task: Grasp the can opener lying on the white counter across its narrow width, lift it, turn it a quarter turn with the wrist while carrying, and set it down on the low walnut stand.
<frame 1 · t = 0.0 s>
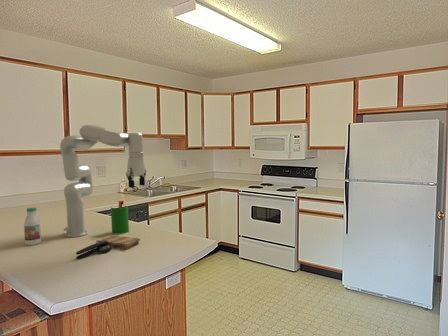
hand: (137, 186, 180), 31 cm above the worktop, tool pointing down, fingers open, 9 cm apart
stand: (118, 244, 177), on the worktop
can opener: (93, 255, 163), on the worktop
milk bottle: (33, 243, 181), on the worktop
motor: (121, 232, 204), on the worktop
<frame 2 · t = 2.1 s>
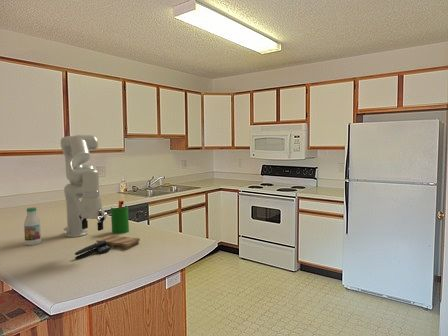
hand: (92, 229, 161), 13 cm above the worktop, tool pointing down, fingers open, 9 cm apart
nothing on the worktop moved.
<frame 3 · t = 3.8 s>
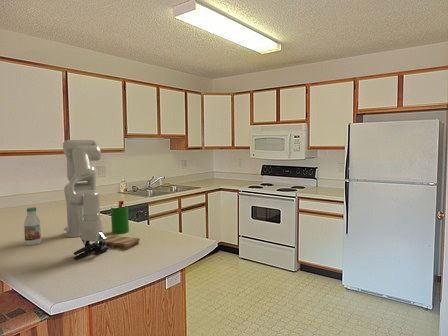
hand: (93, 252, 162), 1 cm above the worktop, tool pointing down, fingers closed on can opener, 6 cm apart
can opener: (90, 255, 162), on the worktop, touching gripper
everything else where it was.
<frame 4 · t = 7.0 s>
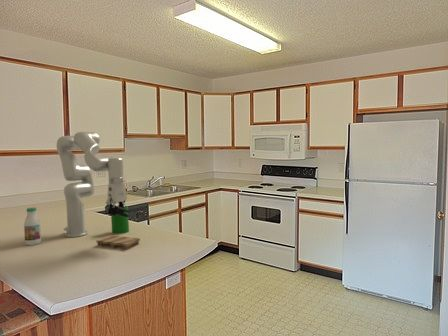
hand: (117, 213, 176), 17 cm above the worktop, tool pointing down, fingers closed on can opener, 6 cm apart
can opener: (117, 215, 175), point 16 cm above the worktop, touching gripper
everything else where it was.
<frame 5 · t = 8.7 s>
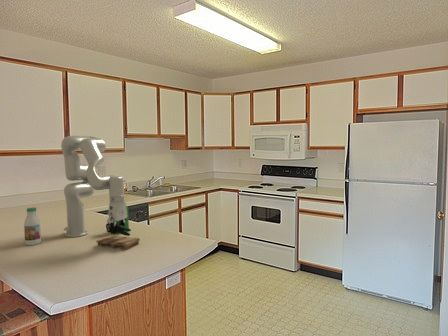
hand: (118, 231, 177), 7 cm above the worktop, tool pointing down, fingers closed on can opener, 6 cm apart
can opener: (118, 234, 176), point 6 cm above the worktop, touching gripper
everything else where it was.
when the fingers open (5 cm above the worktop, at t = 10.1 s): can opener drops 1 cm, resting on stand.
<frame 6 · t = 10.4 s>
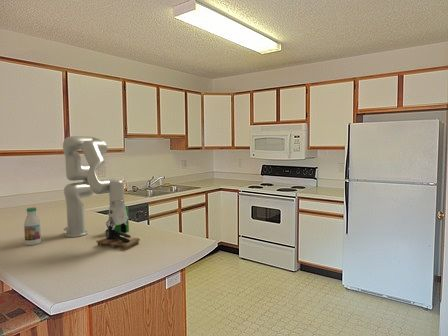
hand: (118, 234, 177), 6 cm above the worktop, tool pointing down, fingers open, 9 cm apart
can opener: (118, 240, 176), point 3 cm above the worktop, touching stand
everything else where it was.
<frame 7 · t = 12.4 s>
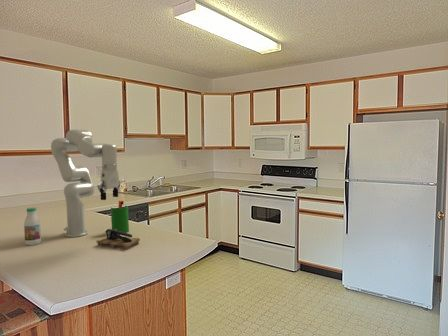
hand: (109, 198, 179), 25 cm above the worktop, tool pointing down, fingers open, 9 cm apart
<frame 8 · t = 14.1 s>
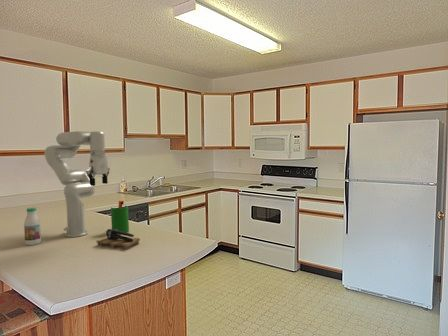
hand: (98, 184, 182), 32 cm above the worktop, tool pointing down, fingers open, 9 cm apart
nothing on the worktop moved.
at the end: can opener inside the target area on the stand (1.5 cm from its centre), point 2.8 cm above the stand's base; the gripper is holding nothing; can opener tilted 0° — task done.
